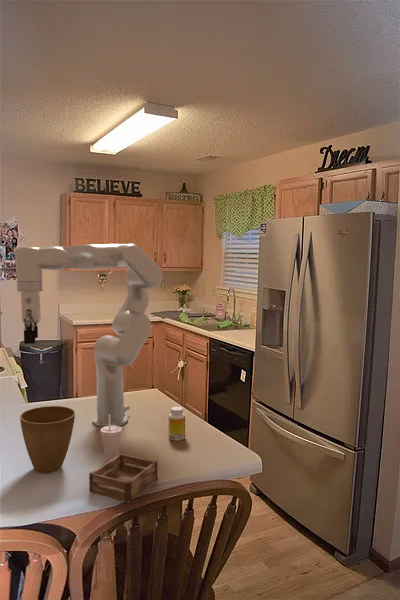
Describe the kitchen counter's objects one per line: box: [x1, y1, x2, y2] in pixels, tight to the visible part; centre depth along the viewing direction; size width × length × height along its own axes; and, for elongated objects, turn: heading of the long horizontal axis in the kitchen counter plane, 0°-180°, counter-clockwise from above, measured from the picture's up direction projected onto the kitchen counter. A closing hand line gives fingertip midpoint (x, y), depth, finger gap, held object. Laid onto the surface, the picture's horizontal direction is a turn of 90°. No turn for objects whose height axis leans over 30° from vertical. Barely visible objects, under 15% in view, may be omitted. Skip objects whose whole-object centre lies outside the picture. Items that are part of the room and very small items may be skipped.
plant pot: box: [19, 405, 76, 474], centre depth 136 cm, size 15×15×16 cm
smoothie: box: [100, 414, 123, 463], centre depth 141 cm, size 6×6×14 cm
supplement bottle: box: [167, 406, 186, 442], centre depth 159 cm, size 6×6×10 cm
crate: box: [88, 452, 159, 503], centre depth 126 cm, size 14×12×5 cm
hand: (31, 340), depth 151 cm, fingers open, 9 cm apart
